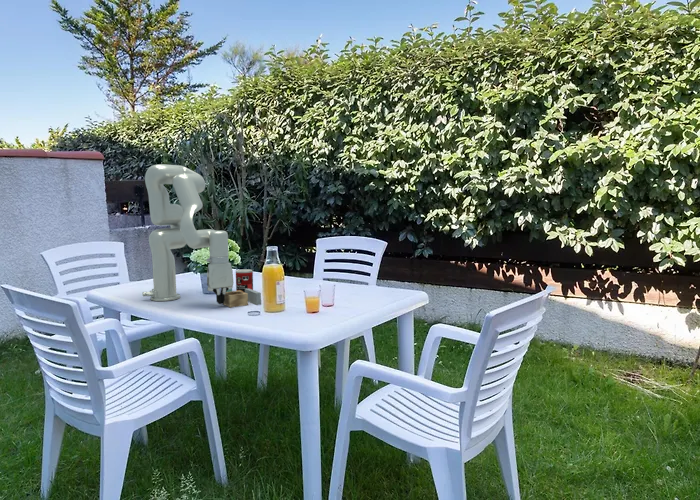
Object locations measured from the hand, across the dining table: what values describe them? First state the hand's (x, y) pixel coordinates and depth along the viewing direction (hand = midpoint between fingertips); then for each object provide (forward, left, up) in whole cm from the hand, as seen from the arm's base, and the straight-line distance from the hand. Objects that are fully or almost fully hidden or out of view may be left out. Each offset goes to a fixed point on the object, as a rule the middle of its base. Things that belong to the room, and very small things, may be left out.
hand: (220, 303), depth 205 cm
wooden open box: (+6, 0, -1) cm, 7 cm away
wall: (+15, 0, -1) cm, 15 cm away
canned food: (+20, +20, -2) cm, 28 cm away
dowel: (+8, +10, -1) cm, 13 cm away
